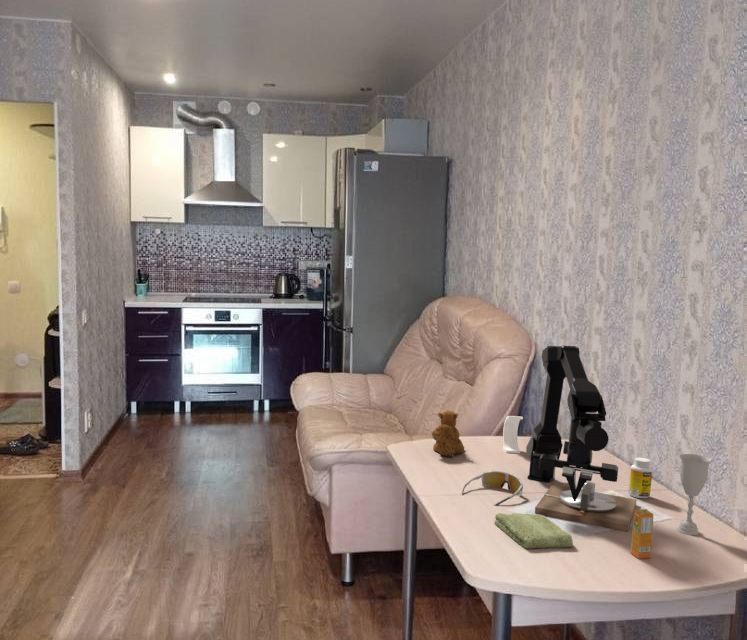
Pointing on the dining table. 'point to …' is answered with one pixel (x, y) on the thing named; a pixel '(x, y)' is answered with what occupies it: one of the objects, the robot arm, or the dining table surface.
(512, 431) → the headphone stand
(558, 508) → the dial base
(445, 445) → the brown teddy bear
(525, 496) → the dining table surface
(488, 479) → the sunglasses
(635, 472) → the supplement bottle
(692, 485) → the chalice
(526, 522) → the washcloth
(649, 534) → the supplement box
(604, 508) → the dial
